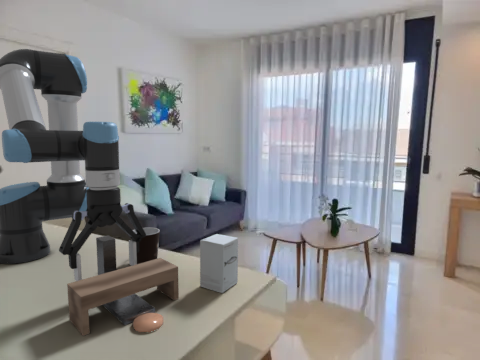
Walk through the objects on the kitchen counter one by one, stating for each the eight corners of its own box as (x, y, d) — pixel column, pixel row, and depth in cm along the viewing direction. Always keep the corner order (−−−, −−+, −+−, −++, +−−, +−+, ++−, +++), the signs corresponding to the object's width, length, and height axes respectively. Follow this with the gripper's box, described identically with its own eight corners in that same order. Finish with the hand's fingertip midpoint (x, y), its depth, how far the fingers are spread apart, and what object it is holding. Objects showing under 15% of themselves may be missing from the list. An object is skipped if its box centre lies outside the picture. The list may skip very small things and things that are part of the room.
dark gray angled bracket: (90, 294, 82) (87, 239, 80) (118, 286, 86) (116, 233, 85) (124, 325, 68) (122, 259, 67) (155, 313, 73) (153, 251, 72)
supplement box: (222, 294, 83) (222, 244, 81) (199, 286, 86) (198, 239, 85) (238, 283, 89) (239, 237, 87) (216, 276, 93) (216, 232, 91)
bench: (69, 319, 70) (67, 283, 69) (161, 287, 86) (160, 257, 85) (83, 336, 65) (81, 297, 64) (178, 298, 80) (178, 266, 79)
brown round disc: (127, 331, 67) (127, 325, 67) (144, 316, 73) (144, 310, 73) (153, 336, 65) (153, 330, 65) (168, 320, 71) (168, 315, 71)
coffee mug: (152, 269, 97) (151, 236, 96) (126, 266, 99) (124, 234, 98) (169, 255, 109) (168, 225, 108) (144, 253, 110) (143, 224, 109)
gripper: (49, 195, 68) (56, 294, 71) (158, 184, 85) (159, 263, 88) (39, 191, 73) (46, 282, 76) (143, 181, 91) (145, 256, 93)
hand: (107, 272), depth 82 cm, fingers open, 13 cm apart
